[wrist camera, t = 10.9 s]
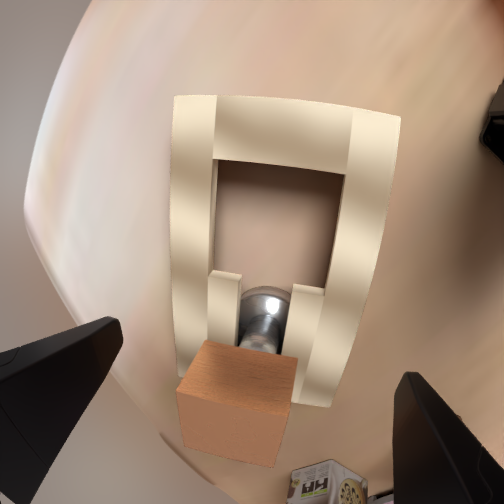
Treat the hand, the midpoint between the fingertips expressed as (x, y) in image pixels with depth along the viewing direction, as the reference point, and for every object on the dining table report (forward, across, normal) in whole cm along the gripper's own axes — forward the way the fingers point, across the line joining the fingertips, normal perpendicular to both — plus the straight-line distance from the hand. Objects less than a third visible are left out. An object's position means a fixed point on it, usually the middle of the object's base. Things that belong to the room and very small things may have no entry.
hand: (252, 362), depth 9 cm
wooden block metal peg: (+13, +1, +7) cm, 15 cm away
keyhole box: (+13, +1, +2) cm, 13 cm away
